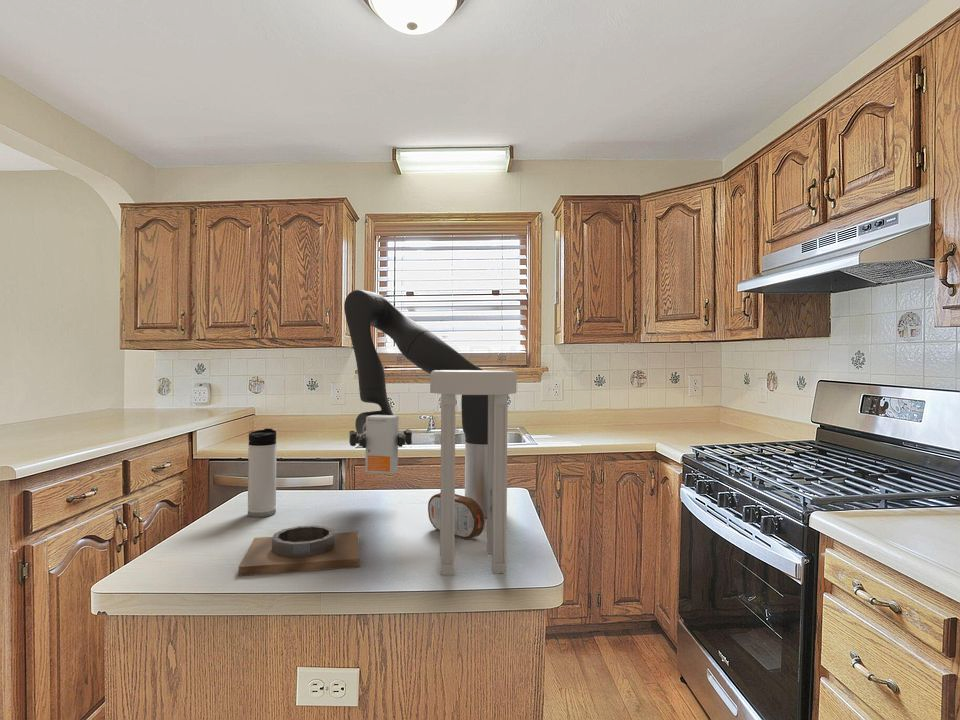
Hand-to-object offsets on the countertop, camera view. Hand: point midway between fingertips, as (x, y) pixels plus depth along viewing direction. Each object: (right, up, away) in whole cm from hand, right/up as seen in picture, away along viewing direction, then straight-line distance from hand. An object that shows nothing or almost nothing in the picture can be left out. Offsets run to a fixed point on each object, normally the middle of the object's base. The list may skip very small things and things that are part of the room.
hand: (382, 442), depth 116 cm
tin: (+15, -20, +2) cm, 25 cm away
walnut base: (-13, -19, -12) cm, 26 cm away
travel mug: (-32, -20, +16) cm, 41 cm away
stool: (+19, -20, -15) cm, 31 cm away
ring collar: (-13, -18, -12) cm, 25 cm away
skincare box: (0, -7, +2) cm, 7 cm away
